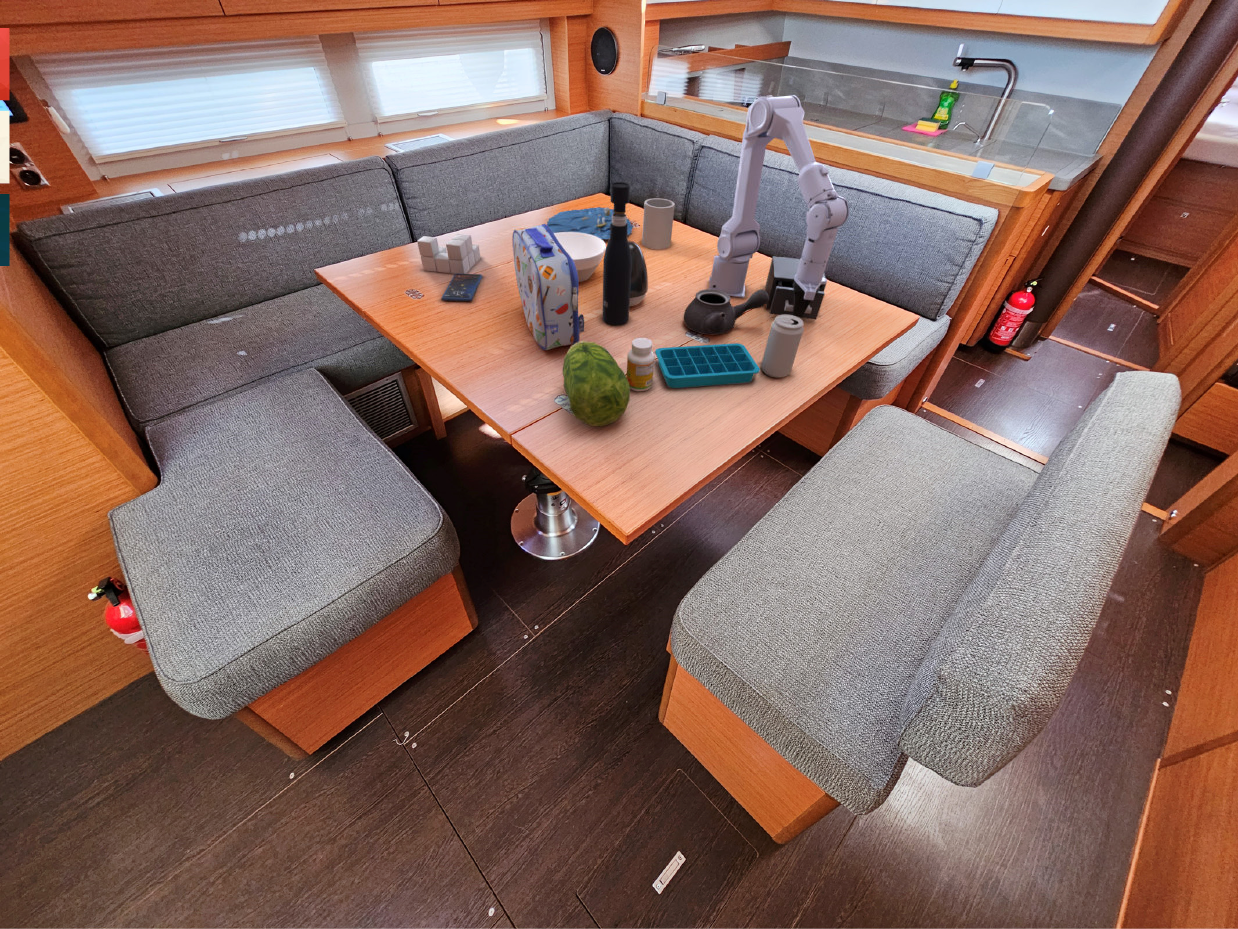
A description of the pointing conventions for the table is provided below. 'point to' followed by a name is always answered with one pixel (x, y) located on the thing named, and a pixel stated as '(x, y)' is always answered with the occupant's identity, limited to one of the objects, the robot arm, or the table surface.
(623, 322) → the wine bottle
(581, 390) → the lettuce
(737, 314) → the teapot
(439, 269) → the puzzle cube
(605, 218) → the blue sea diorama
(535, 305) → the lunch box
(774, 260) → the cabinet
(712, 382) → the ice cube tray
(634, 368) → the supplement bottle
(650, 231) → the cup
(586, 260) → the bowl
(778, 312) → the drawer
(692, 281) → the table surface
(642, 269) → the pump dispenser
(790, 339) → the beverage can
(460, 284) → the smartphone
